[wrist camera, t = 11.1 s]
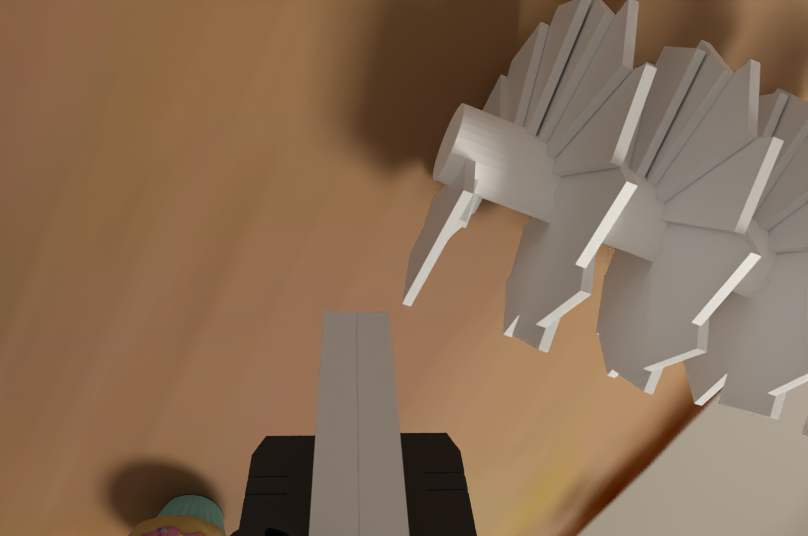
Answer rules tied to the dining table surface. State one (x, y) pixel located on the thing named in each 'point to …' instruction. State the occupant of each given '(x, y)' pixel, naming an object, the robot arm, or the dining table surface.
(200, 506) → the cupcake
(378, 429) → the robot arm
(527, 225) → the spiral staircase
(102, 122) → the dining table surface
